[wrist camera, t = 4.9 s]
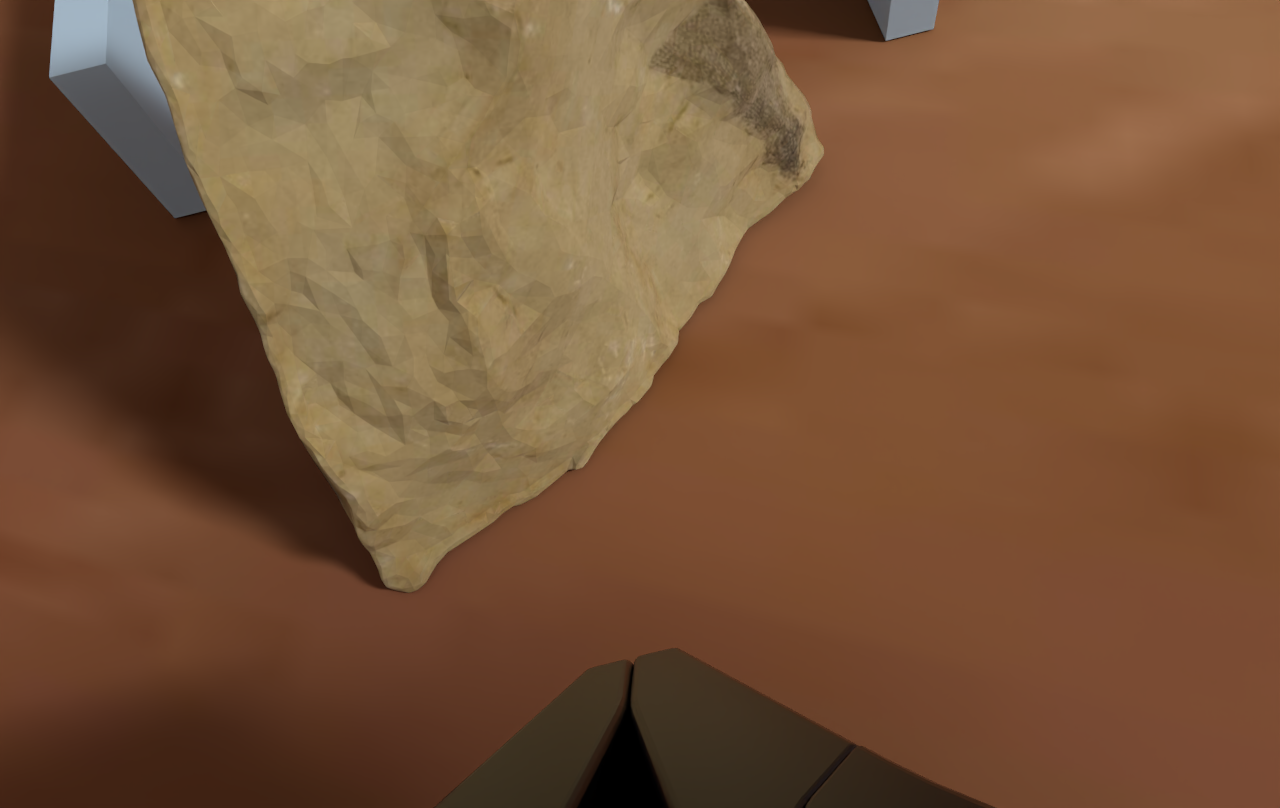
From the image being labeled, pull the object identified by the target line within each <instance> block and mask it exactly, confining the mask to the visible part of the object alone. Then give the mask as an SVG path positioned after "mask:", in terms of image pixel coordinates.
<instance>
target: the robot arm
mask: <svg viewBox="0 0 1280 808" xmlns="http://www.w3.org/2000/svg"><path fill="white" fill-rule="evenodd" d="M434 808H995V807H993V806H991V805H988V804H986V803H983V802H981V801H978V800H976V799H974V798H971V797H969V796H966V795H964V794H961V793H959V792H957V791H954V790H952V789H949V788H947V787H944V786H942V785H939V784H937V783H935V782H933V781H931V780H929V779H927V778H925V777H923V776H921V775H919V774H916V773H914V772H912V771H910V770H908V769H906V768H904V767H902V766H900V765H898V764H896V763H894V762H892V761H890V760H888V759H886V758H884V757H882V756H880V755H879V754H877V753H875V752H873V751H871V750H869V749H867V748H866V747H863V746H858V745H856V744H855V743H853V742H851V741H849V740H847V739H845V738H843V737H842V736H840V735H838V734H836V733H834V732H832V731H831V730H829V729H827V728H825V727H823V726H821V725H819V724H818V723H816V722H814V721H812V720H810V719H808V718H806V717H805V716H803V715H801V714H799V713H797V712H795V711H793V710H792V709H790V708H788V707H786V706H784V705H782V704H780V703H779V702H777V701H775V700H773V699H771V698H769V697H767V696H766V695H764V694H762V693H760V692H758V691H756V690H754V689H753V688H751V687H749V686H747V685H745V684H743V683H741V682H740V681H738V680H736V679H734V678H732V677H730V676H728V675H727V674H725V673H723V672H721V671H719V670H717V669H715V668H714V667H712V666H710V665H708V664H706V663H704V662H703V661H701V660H699V659H697V658H695V657H693V656H691V655H690V654H688V653H686V652H684V651H682V650H680V649H677V648H671V649H667V650H662V651H658V652H654V653H650V654H646V655H641V656H639V657H637V659H636V660H635V662H634V665H633V664H632V663H631V662H630V661H629V660H621V661H617V662H613V663H609V664H605V665H601V666H597V667H593V668H590V669H588V670H587V671H586V672H584V673H583V674H582V675H581V676H580V677H579V678H578V679H577V680H576V681H574V682H573V683H572V684H571V685H570V686H569V687H568V688H567V689H566V690H564V691H563V692H562V693H561V694H560V695H559V696H558V697H557V698H555V699H554V700H553V701H552V702H551V703H550V704H549V705H548V706H547V707H545V708H544V709H543V710H542V711H541V712H540V713H539V714H538V715H536V716H535V717H534V718H533V719H532V720H531V721H530V722H529V723H528V724H526V725H525V726H524V727H523V728H522V729H521V730H520V731H519V732H518V733H516V734H515V735H514V736H513V737H512V738H511V739H510V740H509V741H507V742H506V743H505V744H504V745H503V746H502V747H501V748H500V749H499V750H497V751H496V752H495V753H494V754H493V755H492V756H491V757H490V758H489V759H487V760H486V761H485V762H484V763H483V764H482V765H481V766H480V767H478V768H477V769H476V770H475V771H474V772H473V773H472V774H471V775H470V776H468V777H467V778H466V779H465V780H464V781H463V782H462V783H461V784H460V785H458V786H457V787H456V788H455V789H454V790H453V791H452V792H451V793H449V794H448V795H447V796H446V797H445V798H444V799H443V800H442V801H441V802H439V803H438V804H437V805H436V806H435V807H434Z"/></svg>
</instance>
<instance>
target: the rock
mask: <svg viewBox="0 0 1280 808" xmlns="http://www.w3.org/2000/svg"><path fill="white" fill-rule="evenodd" d="M132 1H133V5H134V10H135V14H136V18H137V23H138V27H139V31H140V34H141V38H142V42H143V46H144V50H145V54H146V57H147V61H148V63H149V65H150V67H151V69H152V71H153V73H154V75H155V77H156V79H157V80H158V82H159V84H160V86H161V88H162V90H163V92H164V94H165V96H166V99H167V102H168V106H169V109H170V112H171V116H172V119H173V122H174V126H175V129H176V132H177V136H178V139H179V142H180V146H181V149H182V152H183V156H184V159H185V162H186V165H187V168H188V170H189V173H190V175H191V178H192V180H193V182H194V184H195V187H196V189H197V191H198V194H199V196H200V198H201V200H202V202H203V205H204V207H205V209H206V211H207V213H208V215H209V217H210V219H211V221H212V223H213V225H214V227H215V229H216V231H217V233H218V235H219V237H220V239H221V241H222V243H223V245H224V247H225V249H226V251H227V254H228V256H229V258H230V261H231V263H232V266H233V268H234V271H235V273H236V276H237V281H238V285H239V289H240V294H241V296H242V298H243V300H244V301H245V303H246V305H247V307H248V309H249V311H250V313H251V315H252V317H253V318H254V321H255V323H256V325H257V327H258V329H259V331H260V335H261V339H262V342H263V346H264V349H265V353H266V356H267V359H268V361H269V363H270V365H271V366H272V368H273V370H274V372H275V374H276V378H277V382H278V386H279V389H280V392H281V396H282V399H283V402H284V406H285V409H286V412H287V415H288V417H289V418H290V420H291V422H292V424H293V426H294V428H295V430H296V432H297V434H298V436H299V438H300V439H301V441H302V443H303V445H304V447H305V448H306V450H307V451H308V453H309V454H310V456H311V457H312V459H313V460H314V462H315V464H316V465H317V467H318V468H319V469H320V471H321V472H322V474H323V475H324V477H325V478H326V480H327V481H328V483H329V484H330V486H331V487H332V489H333V490H334V492H335V493H336V495H337V497H338V499H339V500H340V502H341V504H342V506H343V508H344V510H345V512H346V513H347V515H348V517H349V519H350V520H351V522H352V524H353V525H354V528H355V531H356V534H357V537H358V539H359V540H360V542H361V543H362V544H363V546H364V547H365V548H366V549H367V550H368V551H369V552H370V554H371V556H372V558H373V560H374V562H375V564H376V566H377V568H378V571H379V574H380V578H381V580H382V581H383V583H384V585H385V586H386V587H387V588H390V589H393V590H396V591H402V592H408V593H410V592H413V591H416V590H418V589H419V588H420V587H422V586H423V585H424V584H425V583H426V581H427V580H428V578H429V577H430V575H431V573H432V571H433V570H434V568H435V566H436V565H437V564H438V562H439V561H440V560H441V559H442V558H443V557H444V556H445V554H446V553H447V552H449V551H450V550H452V549H453V548H455V547H456V546H458V545H459V544H461V543H463V542H464V541H466V540H467V539H469V538H470V537H472V536H473V535H475V534H476V533H478V532H479V531H481V530H482V529H484V528H485V527H487V526H488V525H490V524H491V523H493V522H494V521H495V520H496V519H497V518H498V517H499V516H500V515H501V514H502V513H504V512H505V511H507V510H508V509H510V508H511V507H513V506H517V505H521V504H523V503H525V502H526V501H528V500H530V499H532V498H534V497H536V496H537V495H539V494H540V493H541V492H542V491H543V490H545V489H546V488H547V487H548V486H550V485H551V484H552V483H553V482H555V481H556V480H557V479H558V478H559V477H561V476H562V475H563V474H564V473H565V472H567V471H568V470H572V469H575V470H576V469H580V468H582V467H583V466H584V465H585V464H586V463H587V461H588V460H589V458H590V456H591V455H592V453H593V452H594V450H595V448H596V447H597V445H598V444H599V442H600V441H601V439H602V438H604V436H605V435H606V434H607V432H608V431H609V430H610V429H611V428H612V427H613V426H614V424H615V423H616V422H617V421H618V420H619V419H620V418H621V417H622V416H623V415H624V414H625V413H626V412H627V411H628V410H629V409H630V408H631V406H632V405H634V404H635V403H637V402H638V401H639V400H640V399H641V398H642V397H643V395H644V394H645V393H646V392H647V390H648V389H649V388H650V387H651V385H652V381H653V377H654V374H655V373H656V372H657V371H658V369H659V368H660V367H661V365H662V364H663V363H664V362H665V361H666V360H667V359H668V357H669V356H670V355H671V353H672V351H673V350H674V348H675V346H676V345H677V343H678V335H679V330H680V329H681V328H682V327H683V326H684V325H685V323H686V322H687V321H688V320H689V319H690V318H691V316H692V315H693V313H694V311H695V310H696V308H697V306H698V305H699V303H701V302H703V301H705V300H706V299H708V298H710V297H711V296H712V295H713V293H714V292H715V290H716V288H717V286H718V284H719V283H720V281H721V279H722V278H723V276H724V275H725V273H726V271H727V269H728V267H729V265H730V263H731V260H732V257H733V255H734V252H735V249H736V248H737V246H738V244H739V242H740V240H741V239H742V237H743V235H744V234H745V232H746V231H747V229H748V228H749V227H751V226H752V225H753V224H755V223H756V222H758V221H759V220H760V219H762V218H763V217H765V216H766V215H768V214H769V213H770V212H772V211H773V210H774V209H775V208H776V207H777V206H778V205H779V204H780V203H781V202H782V201H783V200H784V199H785V198H786V197H788V196H789V195H791V194H792V193H794V192H795V191H797V190H799V189H800V188H801V186H802V185H803V184H804V183H805V182H806V181H808V180H809V179H810V177H811V174H812V173H813V171H814V168H815V167H816V165H817V164H818V162H819V161H820V159H821V158H822V156H823V155H824V147H823V146H822V144H821V143H820V141H819V140H818V138H817V135H816V131H815V128H814V124H813V121H812V117H811V109H810V106H809V104H808V102H807V100H806V98H805V96H804V95H803V94H802V92H801V91H800V90H799V89H798V88H797V86H796V85H795V84H794V83H793V82H792V80H791V79H790V78H789V76H788V75H787V73H786V71H785V68H784V66H783V64H782V63H781V61H780V60H779V59H778V58H777V57H776V56H775V53H774V49H773V45H772V43H771V41H770V39H769V37H768V35H767V33H766V32H765V30H764V28H763V26H762V24H761V22H760V20H759V19H758V17H757V16H756V14H755V13H754V12H753V10H752V9H751V8H750V6H749V5H748V3H747V2H746V1H745V0H132Z"/></svg>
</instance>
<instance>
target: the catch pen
mask: <svg viewBox="0 0 1280 808" xmlns="http://www.w3.org/2000/svg"><path fill="white" fill-rule="evenodd" d="M868 2H869V5H870V7H871V9H872V11H873V14H874V16H875V18H876V20H877V22H878V25H879V27H880V29H881V31H882V34H883V36H884V38H885V40H886V41H887V40H891V39H895V38H899V37H903V36H907V35H911V34H915V33H919V32H923V31H927V30H931V29H934V24H935V19H936V14H937V8H938V3H939V0H868ZM49 78H50V79H51V81H52V82H53V83H54V84H55V85H56V86H57V87H58V88H59V90H60V91H61V92H62V93H63V94H64V95H65V96H66V97H67V98H68V100H69V101H70V102H71V103H72V104H73V105H74V106H75V107H76V109H77V110H78V111H79V112H80V113H81V114H82V115H83V116H84V117H85V119H86V120H87V121H88V122H89V123H90V124H91V125H92V126H93V127H94V129H95V130H96V131H97V132H98V133H99V134H100V135H101V136H102V138H103V139H104V140H105V141H106V142H107V143H108V144H109V145H110V146H111V148H112V149H113V150H114V151H115V152H116V153H117V154H118V155H119V157H120V158H121V159H122V160H123V161H124V162H125V163H126V164H127V165H128V167H129V168H130V169H131V170H132V171H133V172H134V173H135V174H136V176H137V177H138V178H139V179H140V180H141V181H142V182H143V183H144V184H145V186H146V187H147V188H148V189H149V190H150V191H151V192H152V193H153V194H154V196H155V197H156V198H157V199H158V200H159V201H160V202H161V203H162V205H163V206H164V207H165V208H166V209H167V210H168V211H169V212H170V213H171V215H172V216H173V217H174V218H178V217H182V216H186V215H190V214H194V213H198V212H202V211H206V209H205V207H204V205H203V202H202V200H201V198H200V196H199V194H198V191H197V189H196V187H195V184H194V182H193V180H192V178H191V175H190V173H189V170H188V168H187V165H186V162H185V159H184V156H183V152H182V149H181V146H180V142H179V139H178V136H177V132H176V129H175V126H174V122H173V119H172V116H171V112H170V109H169V106H168V102H167V99H166V96H165V94H164V92H163V90H162V88H161V86H160V84H159V82H158V80H157V79H156V77H155V75H154V73H153V71H152V69H151V67H150V65H149V63H148V61H147V57H146V54H145V50H144V46H143V42H142V38H141V34H140V31H139V27H138V23H137V18H136V14H135V10H134V5H133V1H132V0H55V5H54V19H53V32H52V45H51V58H50V71H49Z"/></svg>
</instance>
